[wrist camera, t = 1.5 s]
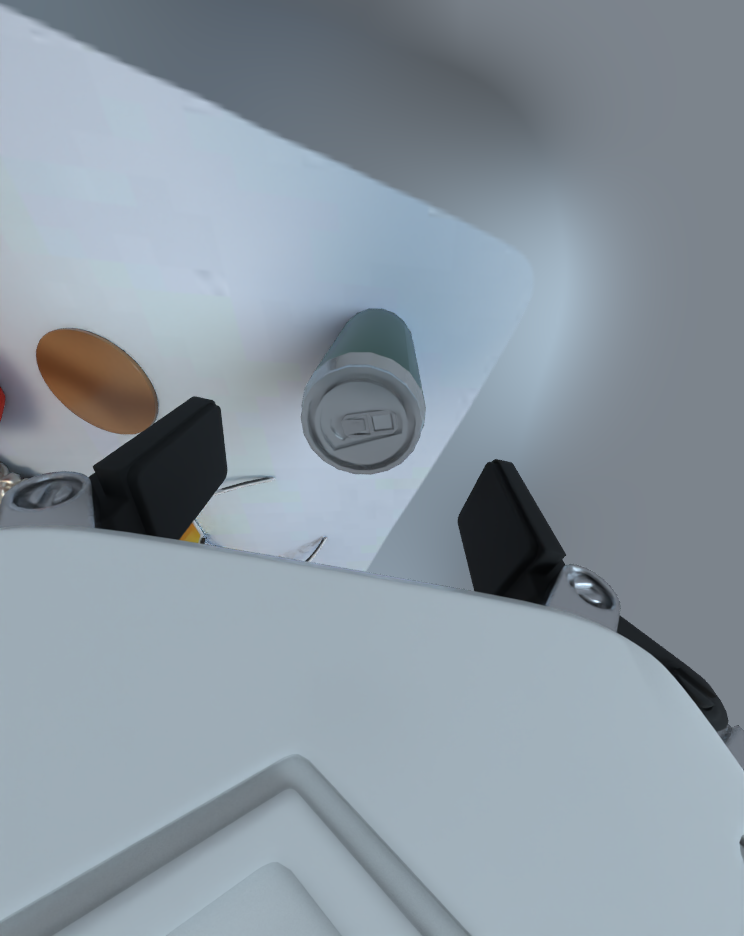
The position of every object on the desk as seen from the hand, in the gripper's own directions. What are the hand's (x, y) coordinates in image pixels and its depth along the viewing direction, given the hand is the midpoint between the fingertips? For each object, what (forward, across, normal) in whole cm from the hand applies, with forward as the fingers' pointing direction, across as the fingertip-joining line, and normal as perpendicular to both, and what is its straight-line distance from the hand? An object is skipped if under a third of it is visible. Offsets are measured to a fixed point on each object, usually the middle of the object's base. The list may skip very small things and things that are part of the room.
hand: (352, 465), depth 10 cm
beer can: (+14, 0, -1) cm, 14 cm away
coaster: (+14, +22, +7) cm, 27 cm away
